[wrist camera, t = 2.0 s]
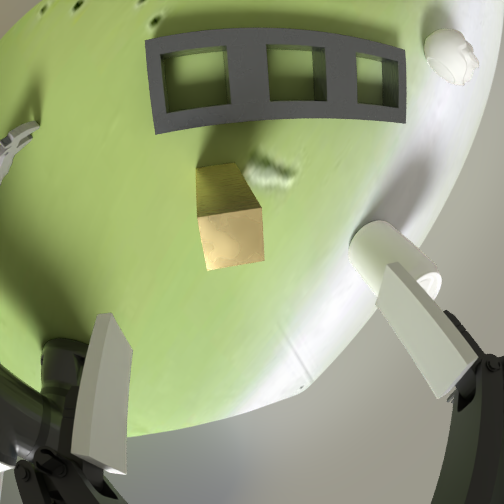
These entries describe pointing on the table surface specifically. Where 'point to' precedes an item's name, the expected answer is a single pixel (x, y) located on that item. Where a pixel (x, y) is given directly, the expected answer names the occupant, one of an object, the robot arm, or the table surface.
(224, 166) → the wooden peg
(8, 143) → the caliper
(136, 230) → the table surface
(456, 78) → the white rounded lump
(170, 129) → the grey slotted holder
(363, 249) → the beverage can
